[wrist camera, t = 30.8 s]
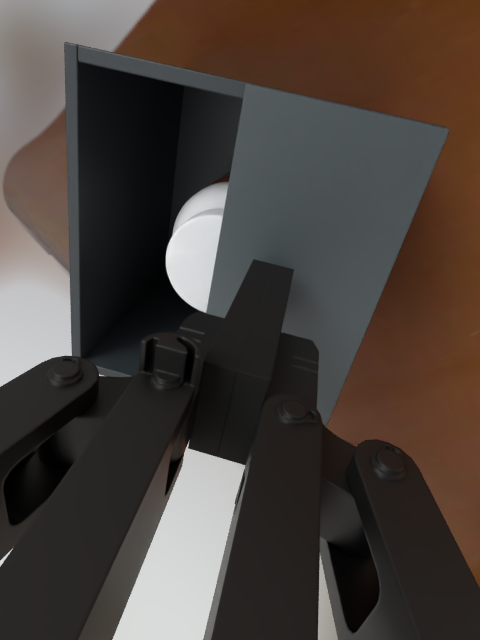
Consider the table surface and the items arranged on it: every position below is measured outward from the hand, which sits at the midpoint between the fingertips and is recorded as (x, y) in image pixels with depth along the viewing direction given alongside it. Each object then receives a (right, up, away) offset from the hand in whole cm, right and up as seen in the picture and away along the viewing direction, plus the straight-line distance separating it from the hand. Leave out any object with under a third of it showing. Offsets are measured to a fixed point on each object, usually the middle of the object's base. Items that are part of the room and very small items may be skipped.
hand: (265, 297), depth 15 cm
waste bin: (0, +7, +13) cm, 14 cm away
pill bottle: (0, +7, +12) cm, 14 cm away
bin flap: (+1, 0, +1) cm, 2 cm away
